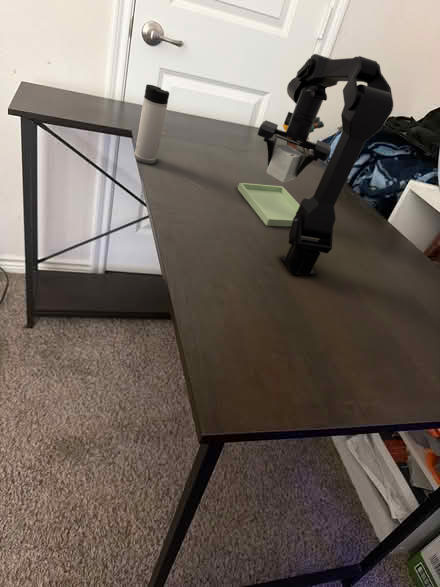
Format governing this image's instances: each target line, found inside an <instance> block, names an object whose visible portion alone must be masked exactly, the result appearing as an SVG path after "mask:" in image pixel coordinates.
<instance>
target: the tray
mask: <svg viewBox="0 0 440 587" xmlns="http://www.w3.org/2000/svg"><path fill="white" fill-rule="evenodd" d="M237 190H238V191H239V194H241V195H242V197H243V198H244V199H245V201H246V202H247V203H248V204H249V205H250V207H251V208H252V210H254V212H255V214H257V216H258V218H260V220H261V221H262V222H263V223H264V225H265V226H267V227H291V226H292V222H293V218H294V217H295V215H296V212H297V211H298V209H299V207H300V204H299V202H298V201H297V200H296V199H295V198H294V197H293V196H292V195H291V194H290V192H288V191H287V190H286V188H285V187H284V186H282V185H281V186H280V185H272V184H271V185H270V184H257V183H246V182H239V183H238V185H237Z"/></svg>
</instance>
